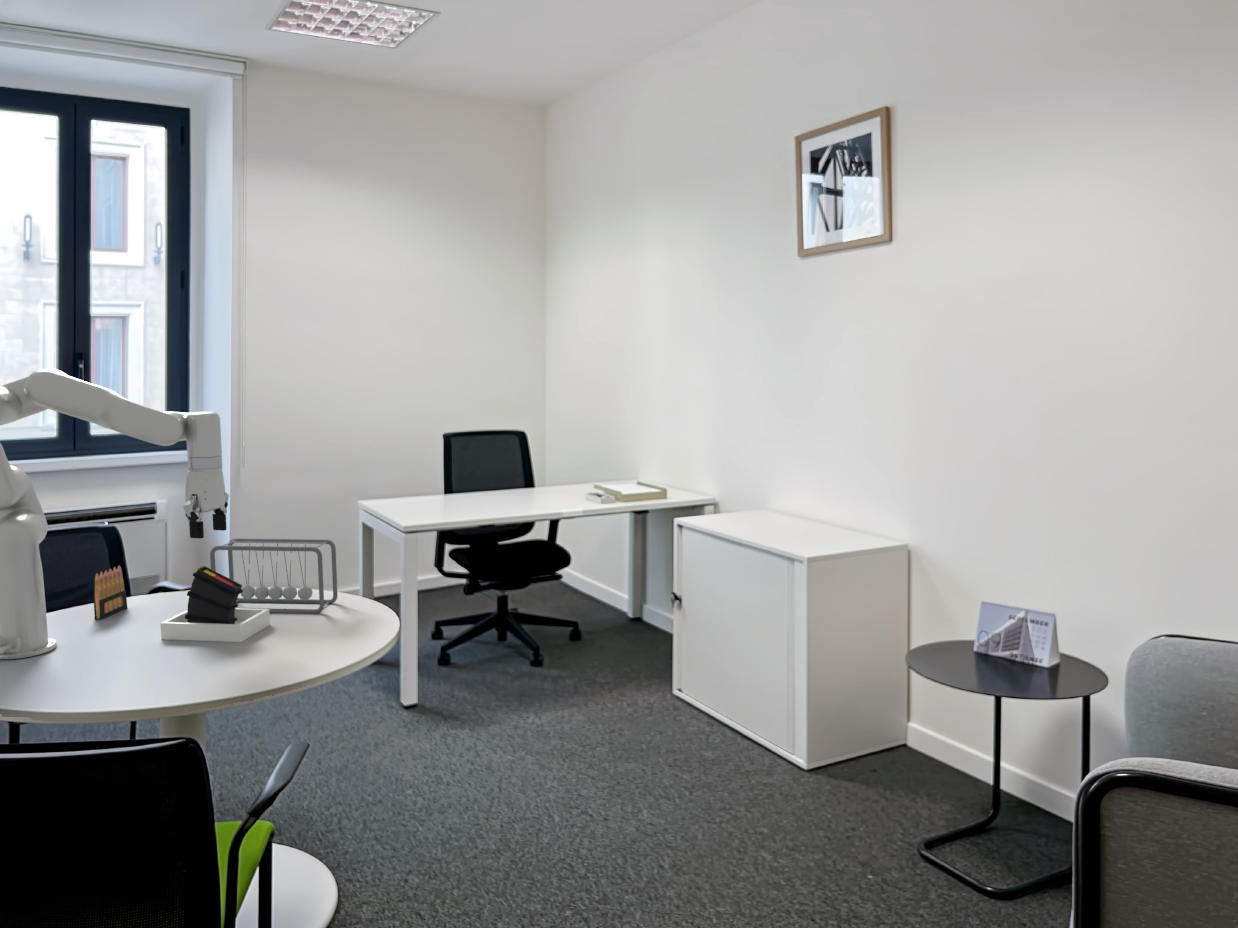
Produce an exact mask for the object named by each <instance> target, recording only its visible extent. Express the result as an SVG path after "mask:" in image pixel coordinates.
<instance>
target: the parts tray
mask: <svg viewBox="0 0 1238 928" xmlns="http://www.w3.org/2000/svg"><path fill="white" fill-rule="evenodd" d="M249 608H250V607H236V608H235V618H237V621H235V624H213V623H188V619H185V615H186V614H187V613H188V609H187V610H184V611H182V612H180V613H178V614H176V615H174V616H172V617H170V618H168V619H166V620H164V621H161V622H160V636H161V637H160V638H161V640H168V641H170V640H171V641H172V640H174V641H193V642H195V641H199V642H201V641H202V642H203V641H204V642H220V643H221V642H226V643H242V642H244V641H246V640H247V639H249V638H250V637H253V636H254V635H255V634H257V633H258V632H260V631H262V630H263V629H265V628H267V627H269V626H271V620H270V619H271V615H270V614H271V613H270V612H269V609H270V608H268V609H249Z"/></svg>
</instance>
